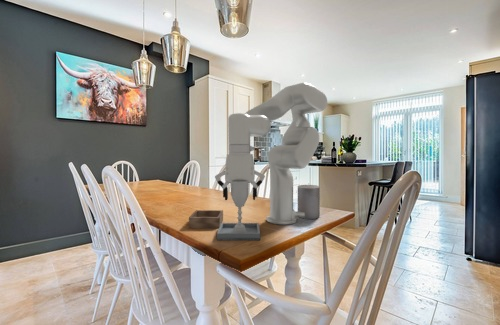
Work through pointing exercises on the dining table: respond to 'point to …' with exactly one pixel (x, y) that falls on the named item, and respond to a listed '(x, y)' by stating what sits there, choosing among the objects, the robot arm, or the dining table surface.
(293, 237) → the dining table surface
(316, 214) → the pillar candle
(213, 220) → the brown square frame
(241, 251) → the dining table surface
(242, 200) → the chalice
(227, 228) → the tray
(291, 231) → the dining table surface
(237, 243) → the dining table surface
